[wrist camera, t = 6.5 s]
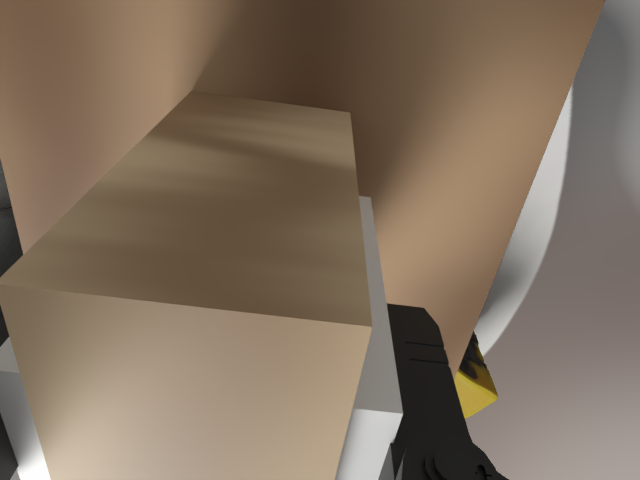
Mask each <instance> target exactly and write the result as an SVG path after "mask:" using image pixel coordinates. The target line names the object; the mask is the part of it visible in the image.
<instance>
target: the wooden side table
mask: <svg viewBox="0 0 640 480" xmlns="http://www.w3.org/2000/svg"><path fill="white" fill-rule="evenodd" d="M604 2H605V0H0V159H1V163H2V167H3V172H4V176H5V180H6V184H7V188H8V193H9V197H10V201H11V205H12V209H13V214H14V218H15V222H16V226H17V230H18V234H19V239H20V243H21V247H22V251H23V256H22V257H21V258H20V259H19V260H18V261H17V262H16V263H15V264H14V265H13V266H12V267H11V268H9V269H8V270H7V271H6V272H5V273H4V274H3V275H2V276H1V277H0V305H1V309H2V312H3V316H4V319H5V323H6V326H7V330H8V333H9V337H10V340H11V343H12V347H13V350H14V354H15V357H16V361H17V364H18V368H19V371H20V375H21V378H22V382H23V385H24V389H25V392H26V395H27V399H28V402H29V406H30V409H31V413H32V416H33V420H34V423H35V427H36V430H37V434H38V437H39V441H40V444H41V448H42V451H43V454H44V458H45V461H46V465H47V468H48V472H49V475H50V479H51V480H335V476H336V472H337V468H338V464H339V460H340V456H341V452H342V448H343V444H344V440H345V436H346V432H347V428H348V424H349V420H350V416H351V412H352V408H353V404H354V400H355V396H356V391H357V387H358V383H359V379H360V375H361V371H362V367H363V363H364V359H365V355H366V351H367V347H368V343H369V339H370V335H371V331H372V318H371V308H370V298H369V289H368V279H367V269H366V260H365V250H364V240H363V231H362V221H361V211H360V202H359V196H364V197H371V202H372V209H373V216H374V222H375V229H376V236H377V243H378V249H379V256H380V263H381V269H382V276H383V283H384V289H385V296H386V303H388V304H397V305H405V306H414V307H422V308H425V310H426V311H427V312H428V313H429V315H430V316H431V317H432V318H433V320H434V321H435V322H436V323H437V324H438V326H439V329H440V332H441V336H442V340H443V343H444V350H446V354H447V357H448V361H449V367H450V368H451V372H452V375H453V379H455V376H456V374H457V371H458V369H459V366H460V364H461V361H462V359H463V356H464V353H465V351H466V348H467V346H468V343H469V341H470V338H471V336H472V333H473V331H474V328H475V326H476V323H477V321H478V318H479V316H480V313H481V311H482V308H483V306H484V303H485V301H486V298H487V296H488V293H489V291H490V288H491V286H492V283H493V281H494V278H495V276H496V273H497V271H498V268H499V266H500V263H501V261H502V258H503V256H504V253H505V251H506V248H507V246H508V243H509V241H510V238H511V236H512V233H513V231H514V228H515V225H516V223H517V220H518V218H519V215H520V213H521V210H522V208H523V205H524V203H525V200H526V198H527V195H528V193H529V190H530V188H531V185H532V183H533V180H534V178H535V175H536V173H537V170H538V168H539V165H540V163H541V160H542V158H543V155H544V153H545V150H546V148H547V145H548V143H549V140H550V138H551V135H552V133H553V130H554V128H555V125H556V123H557V120H558V118H559V115H560V113H561V110H562V108H563V105H564V103H565V100H566V98H567V95H568V92H569V90H570V87H571V85H572V82H573V80H574V77H575V75H576V72H577V70H578V67H579V65H580V62H581V60H582V57H583V55H584V52H585V50H586V47H587V45H588V42H589V40H590V37H591V35H592V32H593V29H594V27H595V25H596V22H597V20H598V17H599V15H600V12H601V10H602V7H603V4H604Z"/></svg>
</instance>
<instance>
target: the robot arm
mask: <svg viewBox="0 0 640 480" xmlns="http://www.w3.org/2000/svg"><path fill="white" fill-rule="evenodd" d="M359 202H360V211H361V221H362V231H363V240H364V250H365V260H366V269H367V279H368V289H369V298H370V308H371V318H372V331H371V335H370V339H369V343H368V347H367V351H366V355H365V359H364V363H363V367H362V371H361V375H360V379H359V383H358V387H357V391H356V396H355V400H354V404H353V408H352V412H351V416H350V420H349V424H348V428H347V432H346V436H345V440H344V444H343V448H342V452H341V456H340V460H339V464H338V468H337V472H336V476H335V480H509V479H507V478H505V477H504V476H502V475H501V474H500V473H498V472H497V471H496V469H495V467H494V466H493V464H492V463H491V462H490V460H489V459H488V457H487V456H486V454H485V453H484V452H483V451H482V450H481V449H480V448H478V447H477V446H476V445H475V444H473V442H472V440H471V437H470V435H469V432H468V429H467V426H466V422H465V418H464V415H463V411H462V407H461V404H460V400H459V397H458V393H457V390H456V386H455V382H454V379H453V375H452V372H451V368H450V367H449V361H448V357H447V354H446V350H444V343H443V340H442V336H441V332H440V329H439V326H438V324H437V323H436V322H435V321H434V320H433V318H432V317H431V316H430V315H429V313H428V312H427V311H426V310H425V308H422V307H414V306H405V305H397V304H388V303H386V296H385V289H384V283H383V276H382V269H381V263H380V256H379V249H378V243H377V236H376V229H375V222H374V216H373V209H372V202H371V197H364V196H359ZM22 256H23V251H22V247H21V243H20V239H19V234H18V230H17V226H16V222H15V218H14V214H13V209H12V208H7V209H3V210H0V277H1V276H2V275H3V274H4V273H5V272H6V271H7V270H8V269H9V268H11V267H12V266H13V265H14V264H15V263H16V262H17V261H18V260H19V259H20V258H21V257H22ZM16 469H17V471H18V474H19V477H20V480H51V479H50V475H49V472H48V468H47V465H46V461H45V458H44V454H43V451H42V448H41V444H40V441H39V437H38V434H37V430H36V427H35V423H34V420H33V416H32V413H31V409H30V406H29V402H28V399H27V395H26V392H25V389H24V385H23V382H22V378H21V375H20V371H19V368H18V364H17V361H16V357H15V354H14V350H13V347H12V343H11V340H10V337H9V333H8V330H7V326H6V323H5V319H4V316H3V312H2V309H1V305H0V480H10V479H11V477H12V475H13V474H14V472H15V471H16Z"/></svg>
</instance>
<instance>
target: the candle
mask: <svg viewBox="0 0 640 480" xmlns="http://www.w3.org/2000/svg"><path fill="white" fill-rule="evenodd" d="M454 382H455V386H456V390H457V393H458V397H459V400H460V404H461V407H462V411H463V415H464V418H465V419H466V418H467V417H469V416H471V415H473V414H475V413H476V412H478V411H479V410H481V409H482V408H484V407H486V406H487V405H489V404H491V403H493V402H494V401H496V400H497V398H498V395H497V392H496V389H495V386H494V383H493V381H492V378H491V376H490V373H489V371H488V369H487V367H486V364H484V360H483V357H482V355H481V353H480V350H479V347H478V340H477V337H476V335H475V333H474V331H473V333H472V336H471V338H470V341H469V343H468V346H467V348H466V351H465V353H464V356H463V359H462V361H461V364H460V366H459V369H458V371H457V374H456V376H455V379H454Z"/></svg>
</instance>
